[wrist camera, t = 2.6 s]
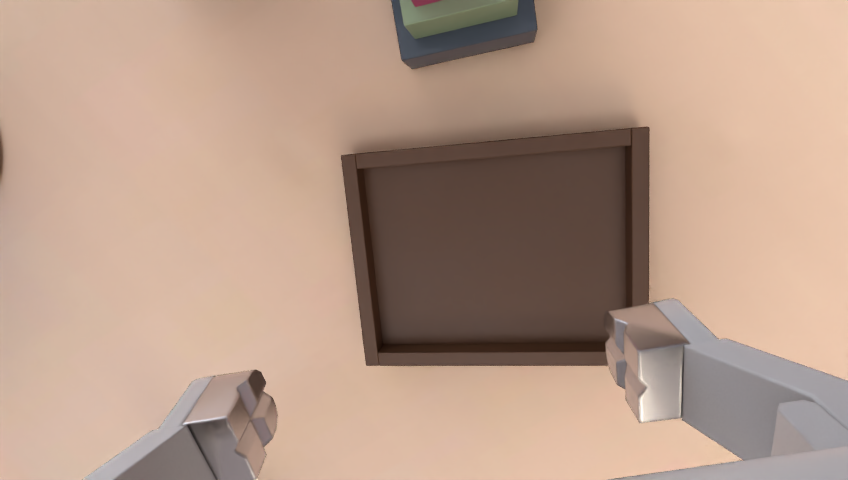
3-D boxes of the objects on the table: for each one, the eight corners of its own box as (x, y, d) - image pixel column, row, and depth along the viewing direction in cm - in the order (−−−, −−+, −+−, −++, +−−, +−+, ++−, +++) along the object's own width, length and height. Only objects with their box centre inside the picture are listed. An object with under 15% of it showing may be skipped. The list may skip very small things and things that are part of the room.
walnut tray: (374, 353, 34) (365, 366, 32) (351, 154, 32) (340, 155, 30) (639, 351, 31) (648, 365, 29) (639, 128, 28) (649, 126, 26)
